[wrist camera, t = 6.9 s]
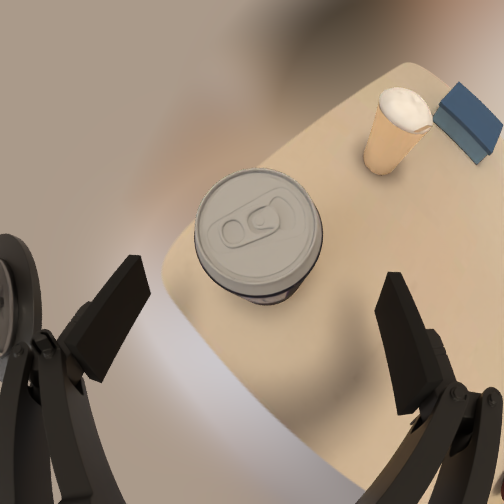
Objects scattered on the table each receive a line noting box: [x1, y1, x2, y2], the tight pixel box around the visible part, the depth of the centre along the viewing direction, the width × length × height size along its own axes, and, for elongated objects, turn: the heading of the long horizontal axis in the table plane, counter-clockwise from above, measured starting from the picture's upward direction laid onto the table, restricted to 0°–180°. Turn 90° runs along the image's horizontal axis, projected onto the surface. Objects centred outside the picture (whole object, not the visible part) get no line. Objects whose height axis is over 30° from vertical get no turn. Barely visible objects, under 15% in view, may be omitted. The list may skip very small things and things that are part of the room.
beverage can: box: [194, 168, 323, 305], centre depth 16 cm, size 6×6×12 cm
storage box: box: [432, 82, 503, 165], centre depth 22 cm, size 8×8×4 cm
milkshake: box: [363, 87, 433, 176], centre depth 19 cm, size 4×5×10 cm
